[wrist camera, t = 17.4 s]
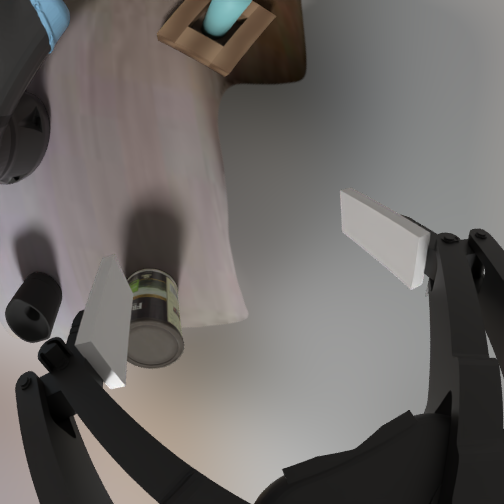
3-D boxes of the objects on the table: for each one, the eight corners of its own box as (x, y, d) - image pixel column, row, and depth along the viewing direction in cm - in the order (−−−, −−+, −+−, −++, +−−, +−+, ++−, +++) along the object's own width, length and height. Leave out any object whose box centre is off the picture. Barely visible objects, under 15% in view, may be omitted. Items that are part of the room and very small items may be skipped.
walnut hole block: (158, 40, 32) (156, 33, 28) (205, -14, 28) (208, -24, 25) (224, 76, 37) (229, 73, 34) (267, 23, 34) (276, 16, 31)
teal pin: (195, 31, 32) (207, -2, 20) (211, 13, 31) (229, -25, 19) (217, 43, 34) (238, 15, 22) (233, 25, 33) (259, -7, 21)
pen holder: (25, 263, 41) (4, 293, 32) (67, 279, 44) (51, 312, 36) (23, 301, 43) (6, 333, 35) (62, 315, 47) (50, 350, 39)
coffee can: (113, 295, 49) (103, 349, 37) (145, 257, 47) (140, 308, 35) (156, 322, 54) (157, 377, 42) (189, 289, 52) (198, 343, 40)
